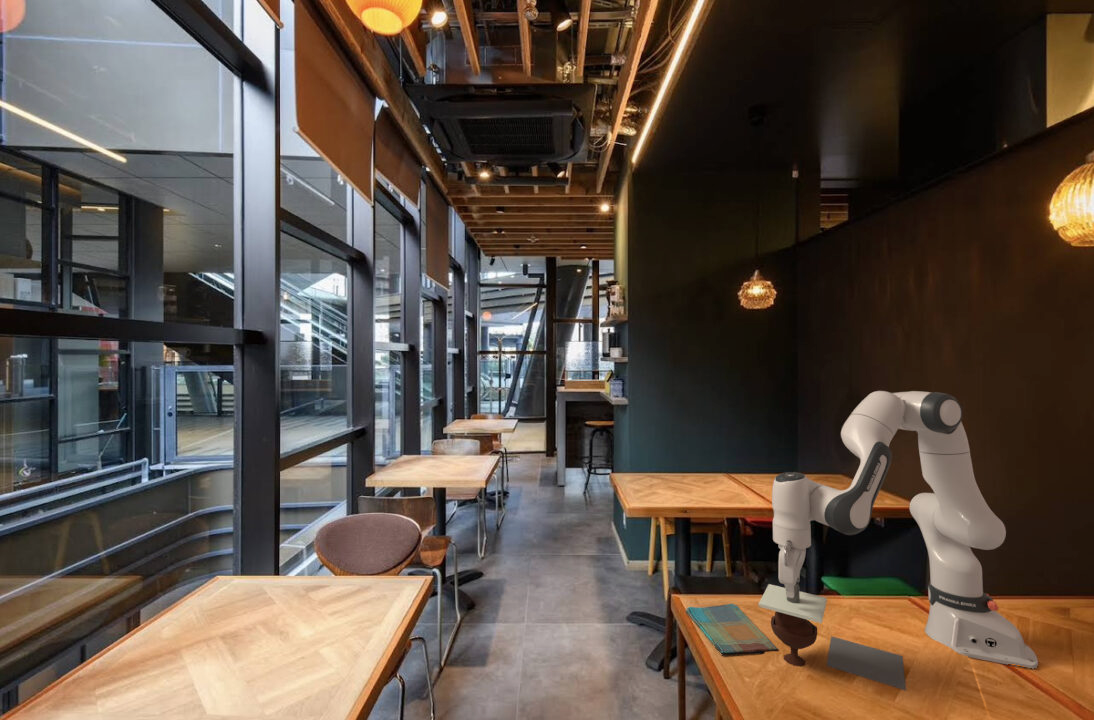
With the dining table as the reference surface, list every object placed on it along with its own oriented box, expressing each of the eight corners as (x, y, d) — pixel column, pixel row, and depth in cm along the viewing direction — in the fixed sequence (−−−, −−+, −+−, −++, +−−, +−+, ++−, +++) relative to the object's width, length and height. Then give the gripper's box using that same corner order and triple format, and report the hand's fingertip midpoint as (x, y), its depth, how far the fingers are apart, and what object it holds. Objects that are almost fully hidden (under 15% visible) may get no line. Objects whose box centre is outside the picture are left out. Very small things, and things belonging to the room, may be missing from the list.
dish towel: (736, 610, 147) (736, 602, 147) (781, 654, 124) (781, 645, 124) (684, 613, 146) (684, 605, 146) (720, 659, 122) (720, 649, 122)
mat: (902, 657, 121) (902, 655, 121) (905, 692, 108) (905, 690, 108) (831, 637, 131) (831, 636, 131) (826, 667, 117) (826, 665, 118)
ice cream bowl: (826, 677, 114) (824, 616, 114) (777, 672, 116) (775, 611, 116) (810, 652, 124) (809, 595, 124) (766, 647, 126) (764, 592, 127)
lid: (826, 600, 122) (826, 582, 122) (821, 623, 111) (821, 603, 111) (768, 586, 130) (768, 569, 130) (758, 606, 119) (758, 587, 119)
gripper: (799, 551, 111) (801, 609, 110) (809, 527, 127) (811, 578, 127) (771, 545, 114) (772, 602, 114) (784, 523, 131) (785, 572, 130)
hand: (792, 589), depth 120 cm, fingers open, 8 cm apart
